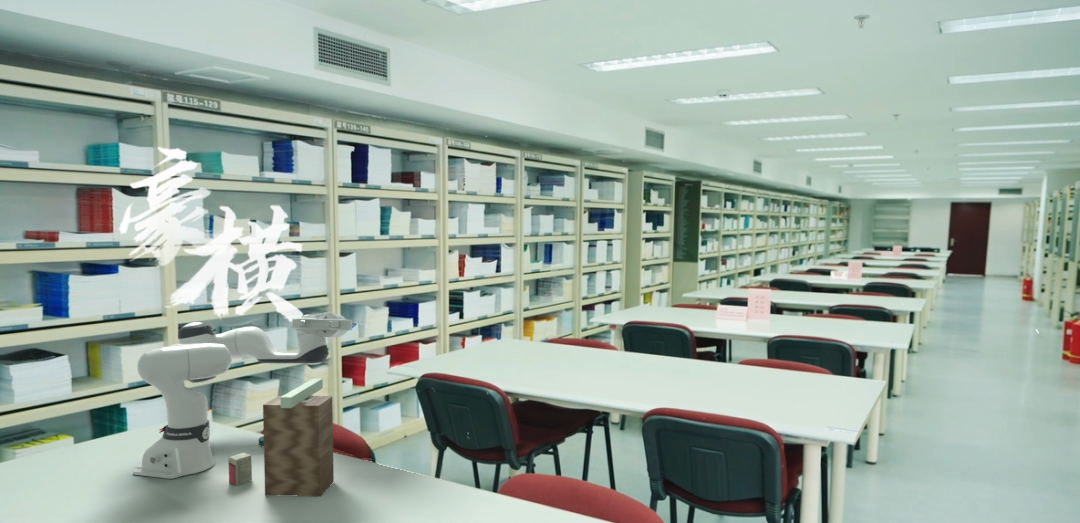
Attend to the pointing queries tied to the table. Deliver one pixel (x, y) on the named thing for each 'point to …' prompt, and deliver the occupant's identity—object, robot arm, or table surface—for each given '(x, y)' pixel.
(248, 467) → the small box
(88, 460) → the table surface
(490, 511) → the table surface
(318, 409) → the stand
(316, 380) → the bar
